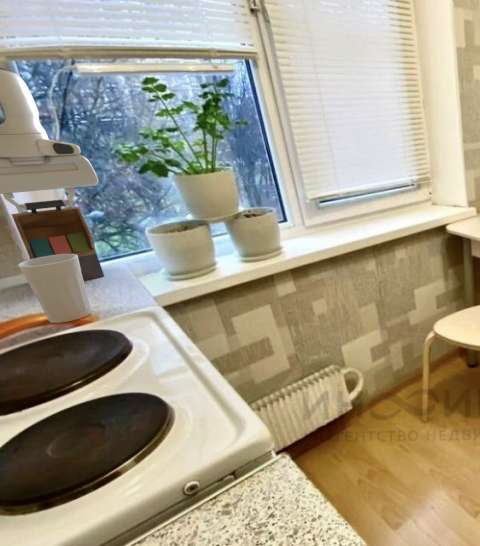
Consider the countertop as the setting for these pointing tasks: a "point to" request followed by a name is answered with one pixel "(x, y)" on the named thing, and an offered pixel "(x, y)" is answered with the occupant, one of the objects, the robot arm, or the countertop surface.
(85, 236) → the basket
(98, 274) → the basket stand
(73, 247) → the packet right
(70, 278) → the cup
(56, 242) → the packet middle
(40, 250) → the packet left
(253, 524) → the countertop surface
